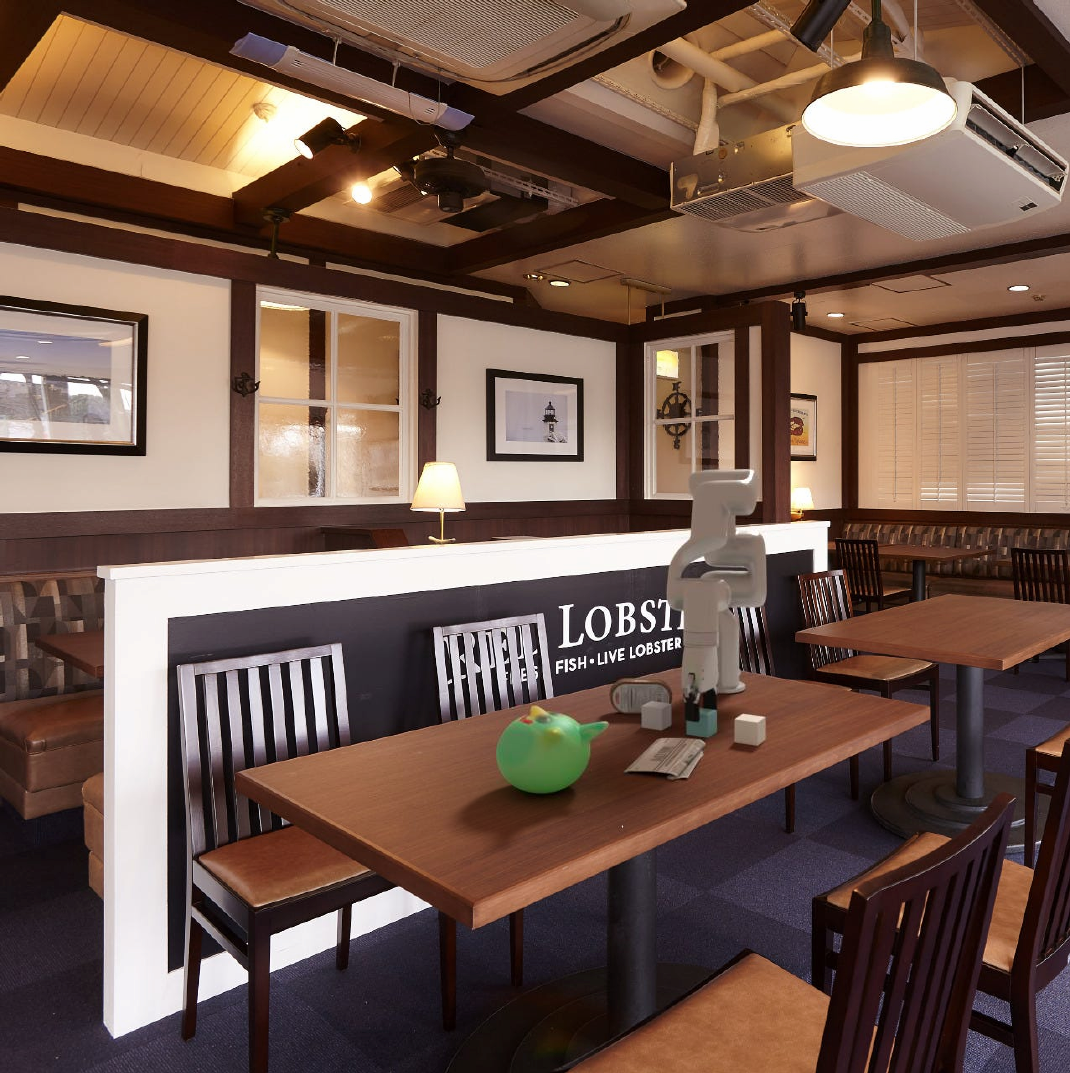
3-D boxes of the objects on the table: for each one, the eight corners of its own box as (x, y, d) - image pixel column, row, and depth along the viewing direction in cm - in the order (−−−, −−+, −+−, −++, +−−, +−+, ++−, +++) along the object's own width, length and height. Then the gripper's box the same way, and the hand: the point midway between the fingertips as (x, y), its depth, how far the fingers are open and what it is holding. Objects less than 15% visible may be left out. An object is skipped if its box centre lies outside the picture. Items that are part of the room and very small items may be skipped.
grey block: (651, 722, 197) (651, 701, 197) (671, 725, 194) (671, 703, 194) (641, 727, 193) (641, 706, 193) (661, 730, 190) (661, 708, 190)
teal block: (695, 729, 191) (695, 707, 191) (716, 732, 188) (716, 710, 188) (686, 734, 187) (686, 712, 186) (708, 738, 184) (707, 715, 184)
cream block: (743, 736, 185) (742, 713, 184) (765, 740, 182) (765, 717, 182) (734, 742, 181) (734, 719, 180) (757, 746, 178) (757, 722, 178)
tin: (672, 712, 206) (671, 677, 205) (673, 715, 202) (672, 680, 202) (609, 711, 207) (609, 677, 207) (609, 715, 204) (609, 680, 203)
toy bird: (541, 767, 167) (540, 693, 166) (613, 785, 156) (612, 706, 155) (478, 794, 153) (477, 713, 152) (552, 815, 142) (551, 729, 141)
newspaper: (686, 785, 157) (685, 772, 157) (624, 783, 162) (622, 770, 162) (715, 749, 178) (714, 737, 177) (659, 748, 183) (657, 736, 183)
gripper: (700, 632, 195) (701, 706, 196) (668, 643, 181) (668, 722, 182) (732, 634, 191) (732, 710, 192) (701, 646, 177) (701, 727, 177)
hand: (701, 716), depth 187 cm, fingers open, 9 cm apart
